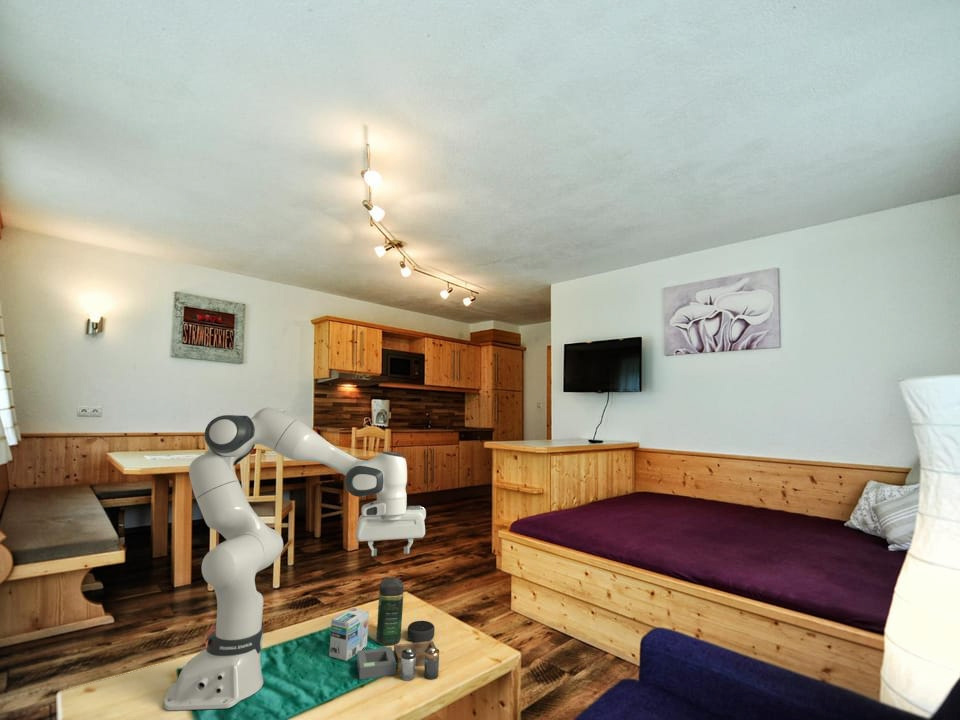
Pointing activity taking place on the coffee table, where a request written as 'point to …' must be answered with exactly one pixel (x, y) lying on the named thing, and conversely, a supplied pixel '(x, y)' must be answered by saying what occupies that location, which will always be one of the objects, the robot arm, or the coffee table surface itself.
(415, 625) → the smart speaker
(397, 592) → the coffee jar
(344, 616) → the light bulb box
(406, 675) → the steel cell
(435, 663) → the copper cell
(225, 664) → the robot arm
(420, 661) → the trough
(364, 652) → the cradle
